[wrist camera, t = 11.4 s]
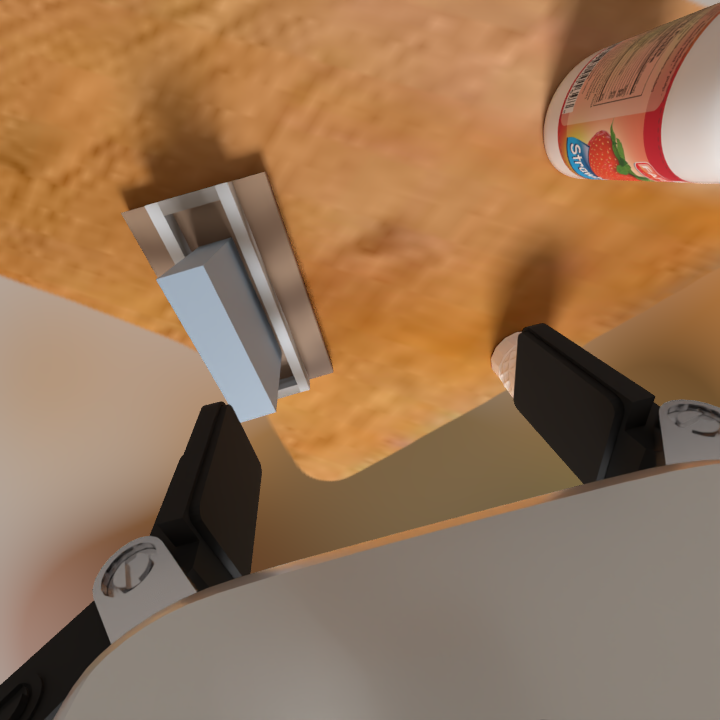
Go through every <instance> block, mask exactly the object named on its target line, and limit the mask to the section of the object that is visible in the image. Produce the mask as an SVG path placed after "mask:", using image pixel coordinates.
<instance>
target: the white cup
mask: <svg viewBox="0 0 720 720" xmlns="http://www.w3.org/2000/svg"><path fill="white" fill-rule="evenodd" d="M520 333H522V332H516V333H514V334H512V335H510V336H508V337H506V338H504V339H503V340H502V341H501V343H500V344H499V345H498V346H497V347H496V348H495V351H494V353H493V355H492V358H491V364H492V370H493V371H494V372H495V374H496V375H497V376H498V377H499V379H500V380H501V381H502V382H503V385H504V386H505V388H506V389H507V390H508V392H509V393H510V394H511V395H512V397H514V383H515V369H516V354H517V340H518V335H519V334H520Z"/></svg>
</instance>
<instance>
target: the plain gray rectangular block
mask: <svg viewBox="0 0 720 720" xmlns="http://www.w3.org/2000/svg"><path fill="white" fill-rule="evenodd" d="M156 280H157V282H158V284H159V285H160V287H161V289H162V290H163V292H164V294H165V296H166V297H167V299H168V301H169V302H170V304H171V306H172V308H173V309H174V311H175V313H176V315H177V316H178V318H179V320H180V321H181V323H182V325H183V327H184V328H185V330H186V332H187V333H188V335H189V337H190V339H191V340H192V342H193V344H194V345H195V347H196V349H197V351H198V352H199V354H200V356H201V357H202V359H203V361H204V363H205V364H206V366H207V368H208V369H209V371H210V373H211V375H212V376H213V378H214V380H215V381H216V383H217V385H218V387H219V388H220V390H221V392H222V394H223V395H224V397H225V398H226V400H227V402H228V404H230V405H231V406H232V407H233V409H234V411H235V413H236V415H237V417H238V419H239V421H240V423H241V422H244V421H248V420H251V419H254V418H258V417H261V416H264V415H268V414H271V413H274V412H276V407H277V397H278V388H279V378H280V368H281V359H282V352H281V349H280V347H279V345H278V342H277V340H276V338H275V335H274V333H273V331H272V329H271V326H270V324H269V322H268V319H267V317H266V315H265V312H264V310H263V308H262V305H261V303H260V301H259V299H258V296H257V294H256V292H255V289H254V287H253V285H252V282H251V280H250V278H249V276H248V273H247V271H246V269H245V266H244V264H243V262H242V259H241V257H240V255H239V252H238V250H237V248H236V246H235V243H234V241H233V239H232V237H230V238H227V239H224V240H220V241H217V242H214V243H210V244H207V245H204V246H200V247H198V248H197V249H195V250H194V251H193V252H191V253H190V254H189V255H187V256H186V257H185V258H184V259H182V260H181V261H180V262H178V263H177V264H176V265H174V266H173V267H172V268H170V269H169V270H168V271H167V272H165V273H164V274H163V275H161V276H160V277H159V278H157V279H156Z"/></svg>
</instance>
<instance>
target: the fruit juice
mask: <svg viewBox="0 0 720 720" xmlns="http://www.w3.org/2000/svg"><path fill="white" fill-rule="evenodd" d="M544 146H545V150H546V153H547V156H548V158H549V160H550V162H551V163H552V165H553V166H554V167H555V168H556V169H557V170H558V171H560V172H561V173H563V174H565V175H567V176H570V177H574V178H579V179H602V180H630V181H659V182H687V183H702V184H720V3H717V4H715V5H712V6H710V7H707V8H705V9H702V10H700V11H697V12H695V13H692V14H689V15H687V16H684V17H682V18H679V19H677V20H674V21H672V22H669V23H667V24H664V25H662V26H659V27H657V28H654V29H652V30H649V31H647V32H644V33H642V34H639V35H636V36H634V37H631V38H629V39H626V40H624V41H621V42H619V43H616V44H614V45H611V46H609V47H606V48H604V49H601V50H599V51H597V52H595V53H594V54H592V55H590V56H589V57H587V58H586V59H584V60H583V61H581V62H580V63H579V64H578V65H577V66H576V67H574V68H573V69H572V70H571V71H570V72H569V73H568V75H567V76H566V77H565V78H564V80H563V81H562V82H561V84H560V85H559V87H558V88H557V90H556V92H555V94H554V96H553V98H552V100H551V102H550V105H549V107H548V110H547V114H546V118H545V123H544Z"/></svg>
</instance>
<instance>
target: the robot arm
mask: <svg viewBox="0 0 720 720" xmlns="http://www.w3.org/2000/svg"><path fill="white" fill-rule="evenodd" d="M513 398H514V404H515V406H516V408H517V409H518V410H519V411H520V413H521V414H522V415H523V416H524V417H525V418H526V419H527V420H528V422H529V423H530V424H531V425H532V426H533V427H534V428H535V430H536V431H537V432H538V433H539V434H540V435H541V436H542V437H543V438H544V440H545V441H546V442H547V443H548V444H549V445H550V446H551V448H552V449H553V450H554V451H555V452H556V453H557V454H558V456H559V457H560V458H561V459H562V460H563V461H564V462H565V463H566V465H567V466H568V467H569V468H570V469H571V470H572V471H573V472H574V474H575V475H576V476H577V477H578V478H579V479H580V480H581V481H582V483H583V485H579V486H575V487H572V488H568V489H564V490H560V491H556V492H552V493H549V494H545V495H541V496H537V497H533V498H529V499H525V500H521V501H518V502H514V503H510V504H506V505H502V506H498V507H495V508H491V509H487V510H483V511H480V512H476V513H472V514H468V515H464V516H461V517H457V518H453V519H450V520H446V521H442V522H438V523H434V524H431V525H427V526H423V527H419V528H415V529H412V530H408V531H404V532H401V533H397V534H393V535H389V536H386V537H382V538H378V539H375V540H371V541H367V542H363V543H360V544H356V545H353V546H349V547H345V548H341V549H338V550H334V551H330V552H326V553H323V554H319V555H315V556H312V557H308V558H304V559H301V560H297V561H294V562H290V563H287V564H283V565H280V566H276V567H273V568H270V569H266V570H263V571H260V572H256V573H253V574H250V572H251V563H252V553H253V545H254V536H255V528H256V519H257V511H258V502H259V493H260V484H261V476H262V469H261V464H260V462H259V460H258V458H257V456H256V454H255V452H254V450H253V448H252V446H251V444H250V441H249V440H248V437H247V436H246V433H245V431H244V429H243V427H242V425H241V423H240V421H239V419H238V417H237V415H236V413H235V411H234V409H233V407H232V406H231V405H230V404H228V405H225V403H224V402H217V403H213V404H209V405H205V406H203V407H202V408H201V411H200V414H199V416H198V419H197V421H196V424H195V426H194V429H193V432H192V434H191V437H190V439H189V442H188V444H187V447H186V450H185V452H184V455H183V456H182V457H181V458H180V460H179V463H178V465H177V468H176V470H175V473H174V475H173V478H172V480H171V483H170V485H169V488H168V491H167V493H166V496H165V498H164V501H163V503H162V506H161V508H160V511H159V513H158V516H157V518H156V521H155V524H154V526H153V529H152V531H151V534H150V536H146V537H141V538H138V539H136V540H134V541H131V542H129V543H128V544H127V545H125V546H123V547H122V548H120V549H119V550H118V551H117V552H116V553H115V554H114V555H113V556H112V557H110V559H109V560H108V561H107V562H106V563H105V565H104V566H103V567H102V568H101V570H100V572H99V574H98V576H97V577H96V579H95V583H94V587H93V597H94V601H93V602H92V603H91V604H90V605H89V606H87V607H86V608H85V609H84V610H83V611H82V612H81V613H80V614H79V615H77V617H75V618H74V619H73V620H72V621H71V622H70V623H69V624H68V625H66V626H65V627H64V628H63V629H62V630H61V631H60V632H59V633H58V634H57V635H55V636H54V637H53V638H52V639H51V640H50V641H49V642H48V643H46V645H44V646H43V647H42V648H41V649H40V650H39V651H38V652H37V653H35V654H34V655H33V656H32V657H31V658H30V659H29V660H28V661H27V662H26V663H24V664H23V665H22V666H21V667H20V668H19V669H18V670H17V671H15V672H14V673H13V674H12V675H11V676H10V677H9V678H8V679H7V680H6V681H4V682H3V683H2V684H1V685H0V720H720V408H718V407H716V406H713V405H710V404H707V403H703V402H698V401H693V400H672V401H669V402H667V403H664V404H663V405H662V406H661V407H660V406H658V405H657V404H655V403H654V399H655V396H654V395H653V394H651V393H650V392H648V391H647V390H645V389H644V388H642V387H641V386H639V385H638V384H636V383H635V382H633V381H631V380H630V379H628V378H627V377H625V376H624V375H622V374H621V373H619V372H618V371H616V370H615V369H613V368H611V367H610V366H609V365H607V364H606V363H604V362H602V361H601V360H600V359H598V358H597V357H595V356H593V355H592V354H590V353H589V352H587V351H585V350H584V349H583V348H581V347H580V346H578V345H577V344H575V343H574V342H572V341H571V340H569V339H568V338H566V337H565V336H563V335H562V334H560V333H559V332H557V331H555V330H554V329H552V328H551V327H549V326H548V325H546V324H544V323H541V324H537V325H533V326H529V327H525V328H524V329H523V330H522V333H520V334H519V335H518V340H517V354H516V369H515V383H514V397H513Z"/></svg>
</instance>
